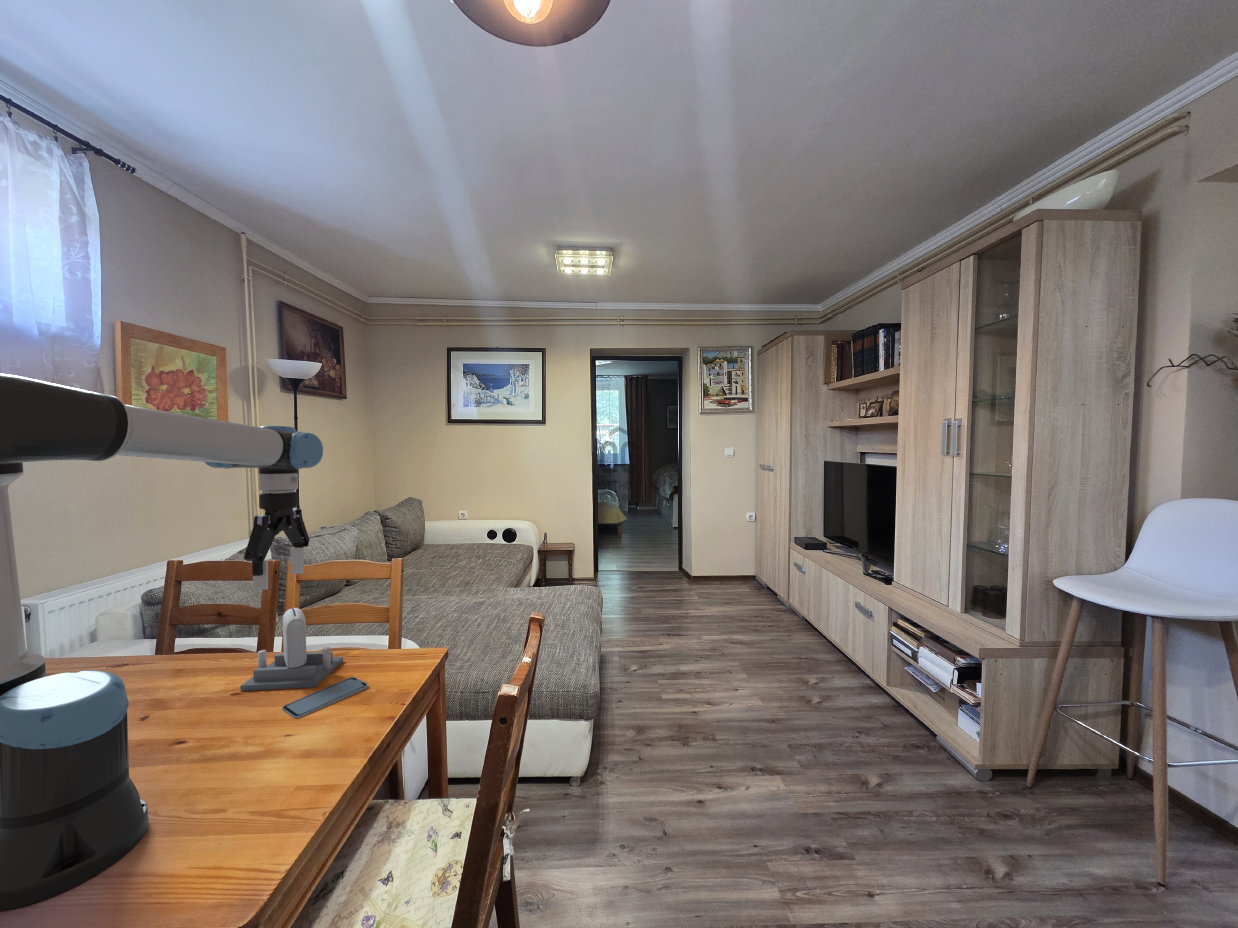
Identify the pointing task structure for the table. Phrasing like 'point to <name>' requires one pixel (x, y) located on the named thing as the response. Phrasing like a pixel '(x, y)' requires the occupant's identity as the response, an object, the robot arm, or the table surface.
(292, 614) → the photo printer
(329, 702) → the smartphone
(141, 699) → the table surface
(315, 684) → the cradle
